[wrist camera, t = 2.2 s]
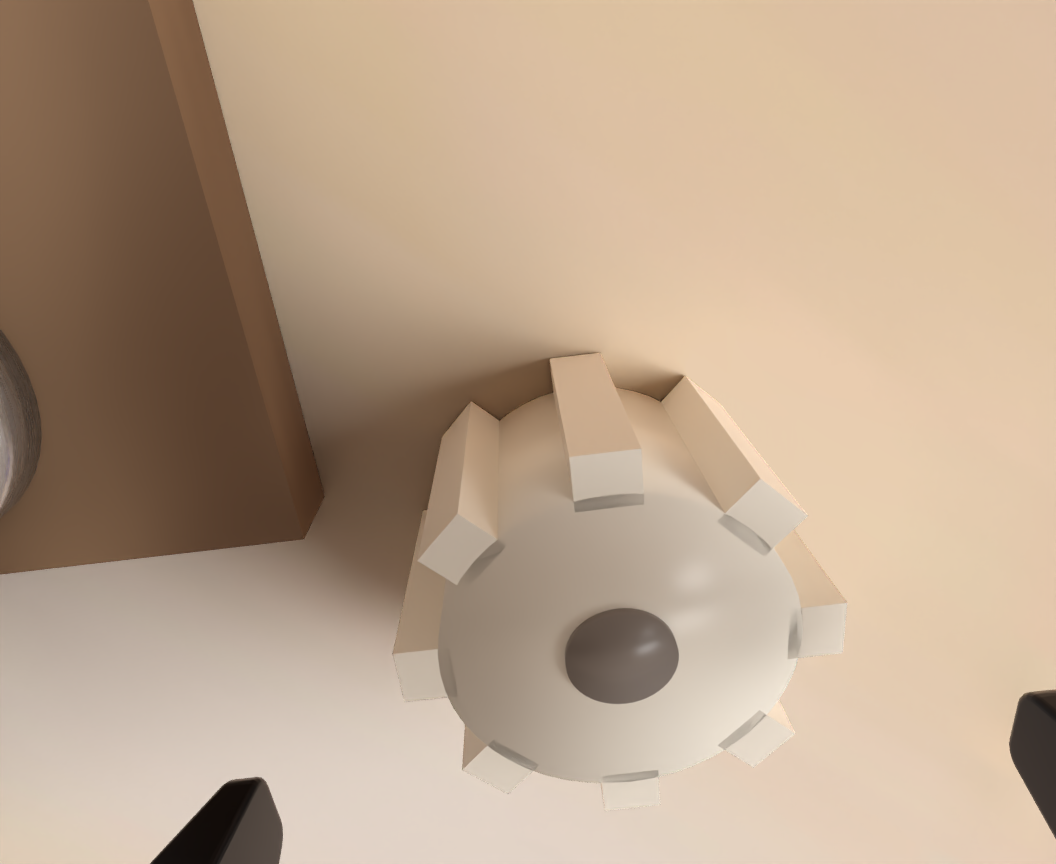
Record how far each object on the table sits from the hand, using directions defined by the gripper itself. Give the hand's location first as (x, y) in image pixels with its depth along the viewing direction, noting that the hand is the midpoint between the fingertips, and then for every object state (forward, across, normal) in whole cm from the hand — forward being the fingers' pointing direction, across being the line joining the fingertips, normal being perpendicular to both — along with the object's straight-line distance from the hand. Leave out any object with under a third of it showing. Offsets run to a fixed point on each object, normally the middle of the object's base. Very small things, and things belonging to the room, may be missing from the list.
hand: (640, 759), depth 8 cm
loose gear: (+6, 0, 0) cm, 6 cm away
